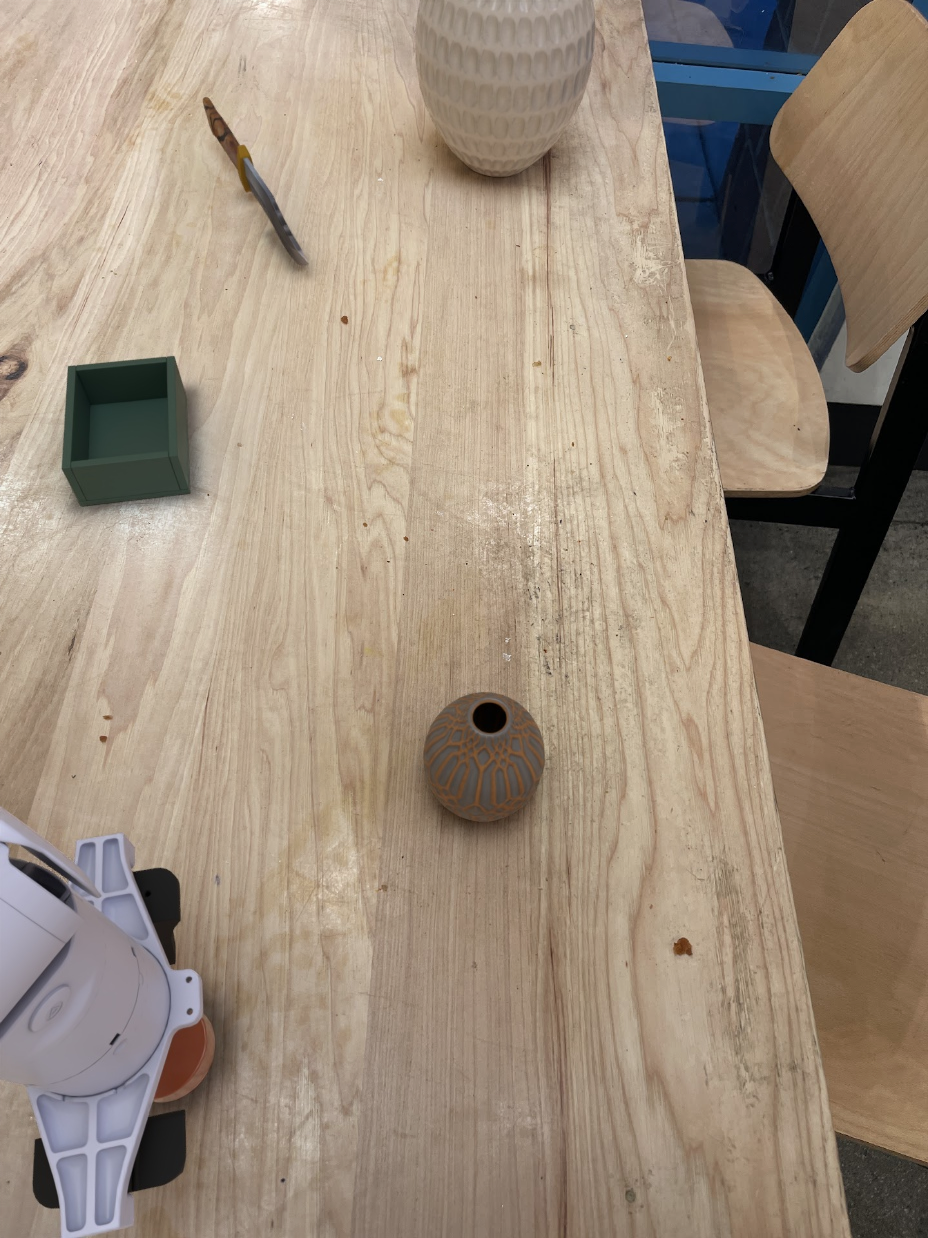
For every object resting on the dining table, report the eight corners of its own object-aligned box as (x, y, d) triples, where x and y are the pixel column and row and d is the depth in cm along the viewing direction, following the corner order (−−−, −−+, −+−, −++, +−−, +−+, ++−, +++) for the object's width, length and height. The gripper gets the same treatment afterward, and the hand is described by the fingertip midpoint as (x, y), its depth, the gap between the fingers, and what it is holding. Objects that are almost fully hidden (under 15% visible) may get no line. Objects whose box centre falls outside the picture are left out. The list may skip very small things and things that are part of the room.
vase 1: (415, 112, 93) (413, -158, 74) (567, 115, 94) (604, -151, 75) (416, 204, 84) (415, -76, 65) (585, 206, 85) (631, -69, 66)
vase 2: (407, 748, 54) (405, 680, 47) (511, 714, 56) (525, 643, 48) (446, 852, 51) (450, 797, 43) (555, 813, 52) (577, 753, 45)
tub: (80, 506, 63) (61, 468, 60) (84, 405, 68) (67, 365, 65) (190, 493, 64) (177, 455, 61) (186, 395, 70) (174, 355, 66)
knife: (319, 285, 77) (313, 234, 73) (304, 290, 77) (297, 238, 73) (220, 142, 88) (210, 90, 84) (207, 145, 88) (196, 93, 84)
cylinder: (122, 1112, 43) (108, 1108, 41) (122, 1012, 46) (110, 1005, 44) (217, 1092, 44) (208, 1088, 42) (213, 994, 46) (205, 986, 44)
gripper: (177, 1212, 28) (249, 1203, 39) (169, 782, 35) (232, 879, 47) (-62, 1267, 27) (84, 1241, 38) (-18, 812, 34) (93, 904, 46)
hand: (155, 1044), depth 42 cm, fingers open, 7 cm apart
